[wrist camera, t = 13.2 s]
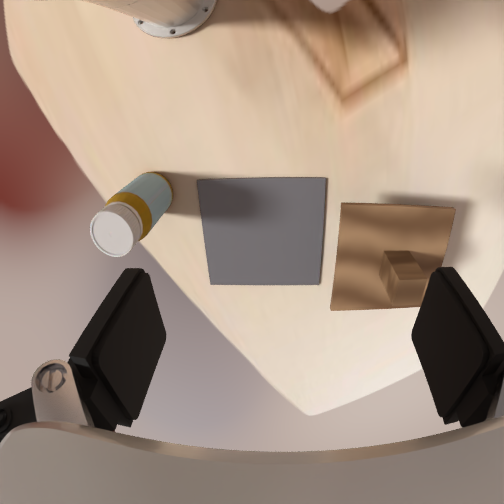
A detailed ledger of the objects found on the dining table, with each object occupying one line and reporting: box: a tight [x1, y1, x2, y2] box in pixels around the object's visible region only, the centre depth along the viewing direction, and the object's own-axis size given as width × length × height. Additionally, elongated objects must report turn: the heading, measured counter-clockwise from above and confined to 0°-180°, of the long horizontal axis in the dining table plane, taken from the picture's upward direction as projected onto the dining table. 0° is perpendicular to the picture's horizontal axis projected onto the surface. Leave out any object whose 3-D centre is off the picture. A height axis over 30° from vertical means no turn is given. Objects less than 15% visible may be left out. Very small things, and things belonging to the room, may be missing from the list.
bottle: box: [90, 172, 173, 257], centre depth 40 cm, size 7×7×15 cm
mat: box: [197, 177, 326, 285], centre depth 49 cm, size 19×19×1 cm
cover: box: [330, 203, 456, 311], centre depth 38 cm, size 17×17×8 cm
